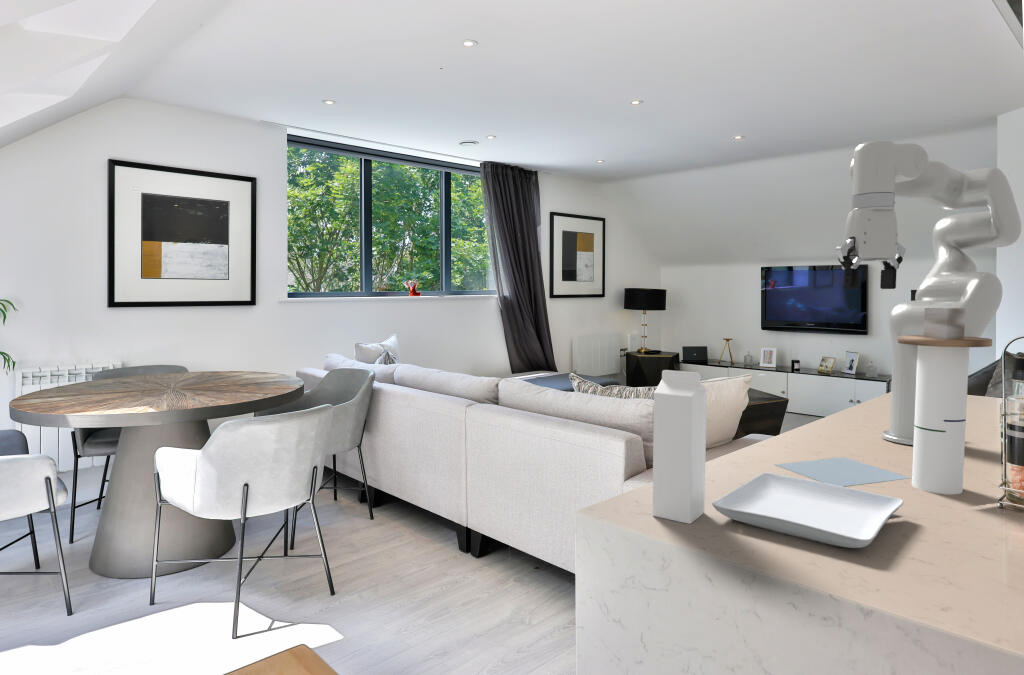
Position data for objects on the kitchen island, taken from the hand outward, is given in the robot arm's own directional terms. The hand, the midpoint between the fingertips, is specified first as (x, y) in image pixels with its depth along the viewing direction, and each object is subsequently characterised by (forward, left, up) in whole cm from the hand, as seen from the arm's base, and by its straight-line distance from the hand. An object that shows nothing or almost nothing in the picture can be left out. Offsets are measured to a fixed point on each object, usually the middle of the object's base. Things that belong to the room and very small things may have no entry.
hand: (869, 288), depth 129 cm
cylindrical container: (+9, +23, -34) cm, 42 cm away
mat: (+17, +10, -34) cm, 39 cm away
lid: (+9, +23, -9) cm, 26 cm away
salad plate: (+40, +27, -35) cm, 60 cm away
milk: (+57, +19, -34) cm, 69 cm away
